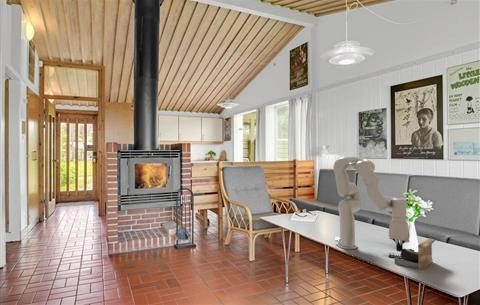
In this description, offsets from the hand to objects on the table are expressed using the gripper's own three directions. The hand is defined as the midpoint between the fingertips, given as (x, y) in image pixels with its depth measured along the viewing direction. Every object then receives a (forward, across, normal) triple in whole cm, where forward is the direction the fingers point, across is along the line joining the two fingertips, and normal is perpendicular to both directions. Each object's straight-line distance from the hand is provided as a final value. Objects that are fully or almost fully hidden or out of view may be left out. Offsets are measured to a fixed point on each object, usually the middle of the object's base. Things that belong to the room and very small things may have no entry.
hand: (399, 250), depth 177 cm
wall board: (+5, +13, 0) cm, 14 cm away
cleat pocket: (+5, +7, 0) cm, 8 cm away
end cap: (+5, +7, 0) cm, 9 cm away
